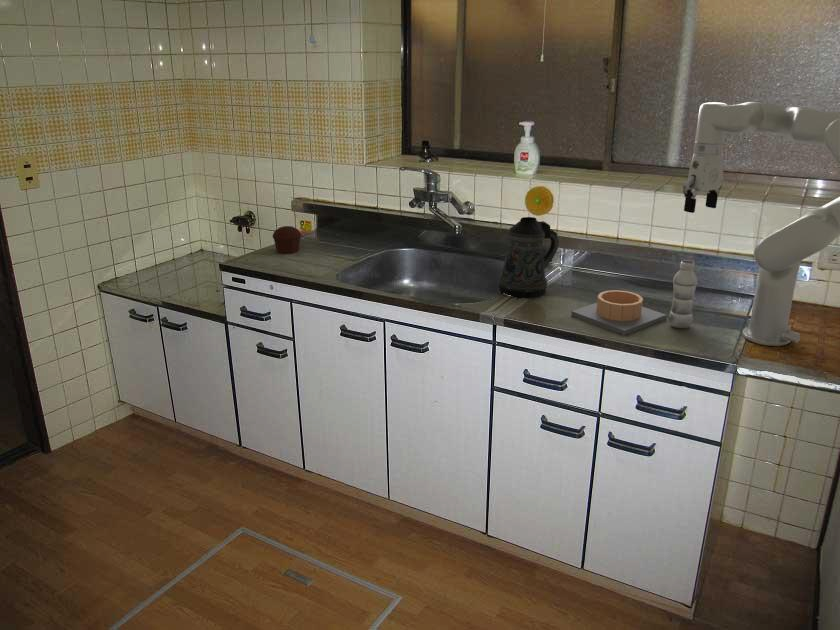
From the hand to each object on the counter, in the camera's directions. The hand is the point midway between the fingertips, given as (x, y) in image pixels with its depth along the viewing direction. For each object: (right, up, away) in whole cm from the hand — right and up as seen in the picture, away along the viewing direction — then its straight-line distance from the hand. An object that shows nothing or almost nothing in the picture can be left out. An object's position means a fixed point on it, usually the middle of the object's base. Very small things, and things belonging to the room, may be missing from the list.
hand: (699, 209), depth 204 cm
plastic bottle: (-3, -34, +7) cm, 35 cm away
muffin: (-134, -4, +86) cm, 159 cm away
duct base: (-19, -31, +14) cm, 39 cm away
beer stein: (-44, -22, +39) cm, 63 cm away
